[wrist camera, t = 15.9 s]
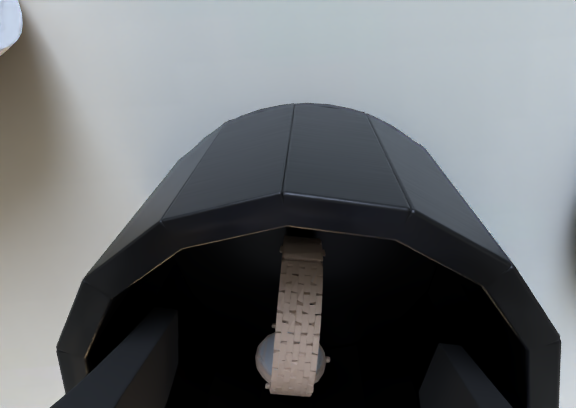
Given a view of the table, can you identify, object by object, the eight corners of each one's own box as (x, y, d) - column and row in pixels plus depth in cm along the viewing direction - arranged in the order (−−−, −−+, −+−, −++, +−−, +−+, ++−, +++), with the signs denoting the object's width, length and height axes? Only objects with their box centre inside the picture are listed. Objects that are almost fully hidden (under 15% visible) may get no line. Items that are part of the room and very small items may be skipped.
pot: (411, 367, 18) (462, 554, 12) (163, 336, 18) (89, 509, 12) (503, 127, 13) (676, 243, 7) (154, 81, 13) (11, 157, 7)
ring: (262, 308, 16) (245, 422, 12) (268, 207, 14) (250, 301, 10) (327, 314, 16) (333, 431, 12) (342, 214, 14) (357, 312, 10)
